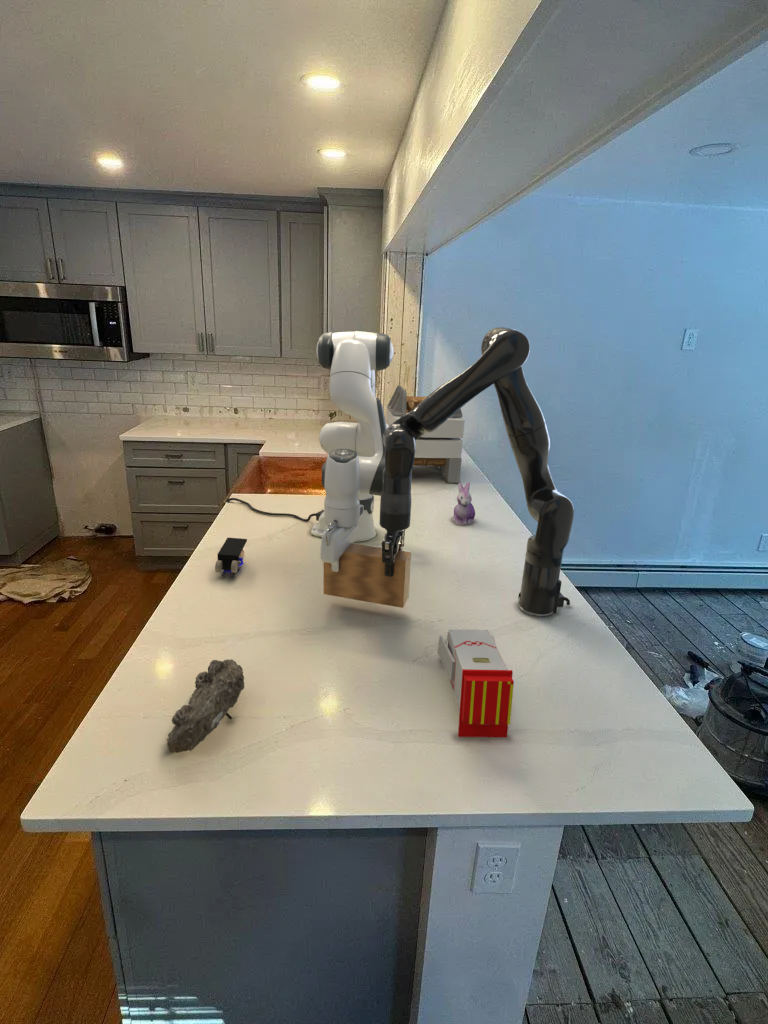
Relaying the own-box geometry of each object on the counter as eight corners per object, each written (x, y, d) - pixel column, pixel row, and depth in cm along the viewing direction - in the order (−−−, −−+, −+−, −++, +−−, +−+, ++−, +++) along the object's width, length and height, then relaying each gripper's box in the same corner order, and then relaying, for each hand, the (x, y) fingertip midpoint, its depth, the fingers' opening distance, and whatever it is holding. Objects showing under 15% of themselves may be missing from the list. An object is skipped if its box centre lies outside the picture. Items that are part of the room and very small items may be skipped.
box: (323, 594, 148) (323, 548, 143) (331, 584, 153) (331, 540, 149) (403, 608, 142) (405, 561, 138) (408, 597, 148) (411, 552, 143)
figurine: (461, 527, 208) (464, 488, 203) (445, 518, 216) (448, 480, 211) (481, 524, 212) (485, 485, 207) (466, 515, 221) (469, 478, 216)
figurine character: (238, 584, 162) (249, 557, 175) (236, 562, 158) (247, 536, 172) (215, 584, 161) (227, 556, 175) (212, 561, 158) (225, 535, 171)
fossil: (192, 660, 117) (244, 628, 112) (224, 691, 120) (276, 661, 115) (142, 746, 98) (202, 712, 93) (182, 779, 101) (242, 748, 96)
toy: (488, 613, 130) (523, 677, 101) (484, 667, 133) (517, 744, 104) (435, 612, 130) (455, 676, 101) (432, 666, 133) (451, 743, 103)
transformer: (382, 463, 289) (386, 382, 275) (445, 464, 293) (451, 384, 279) (390, 482, 257) (394, 392, 243) (460, 483, 261) (468, 394, 247)
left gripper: (339, 530, 132) (338, 583, 137) (365, 504, 151) (364, 551, 155) (314, 526, 134) (314, 579, 138) (343, 501, 152) (342, 548, 157)
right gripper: (403, 519, 130) (399, 585, 136) (417, 500, 143) (413, 561, 149) (372, 515, 132) (369, 580, 138) (388, 497, 145) (385, 557, 151)
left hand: (340, 564), depth 147 cm, fingers closed on box, 6 cm apart
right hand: (392, 570), depth 143 cm, fingers closed on box, 6 cm apart
